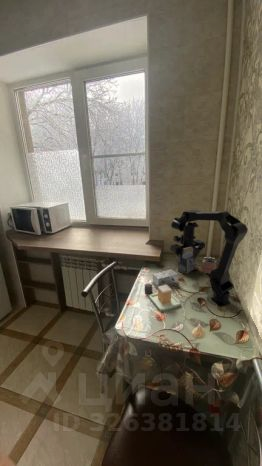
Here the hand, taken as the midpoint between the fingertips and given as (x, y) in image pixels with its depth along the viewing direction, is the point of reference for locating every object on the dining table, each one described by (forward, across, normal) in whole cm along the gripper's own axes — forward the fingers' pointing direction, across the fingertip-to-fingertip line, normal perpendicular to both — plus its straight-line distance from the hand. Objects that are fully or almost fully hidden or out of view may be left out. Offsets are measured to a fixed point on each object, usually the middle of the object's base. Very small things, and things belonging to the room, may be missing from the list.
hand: (186, 260), depth 114 cm
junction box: (+12, +12, -2) cm, 18 cm away
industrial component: (+13, -11, -21) cm, 27 cm away
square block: (+12, +20, +11) cm, 26 cm away
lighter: (+13, -18, -2) cm, 22 cm away
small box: (+13, -8, -10) cm, 18 cm away
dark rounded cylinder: (+13, +24, +1) cm, 27 cm away
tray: (+12, +20, +11) cm, 26 cm away
